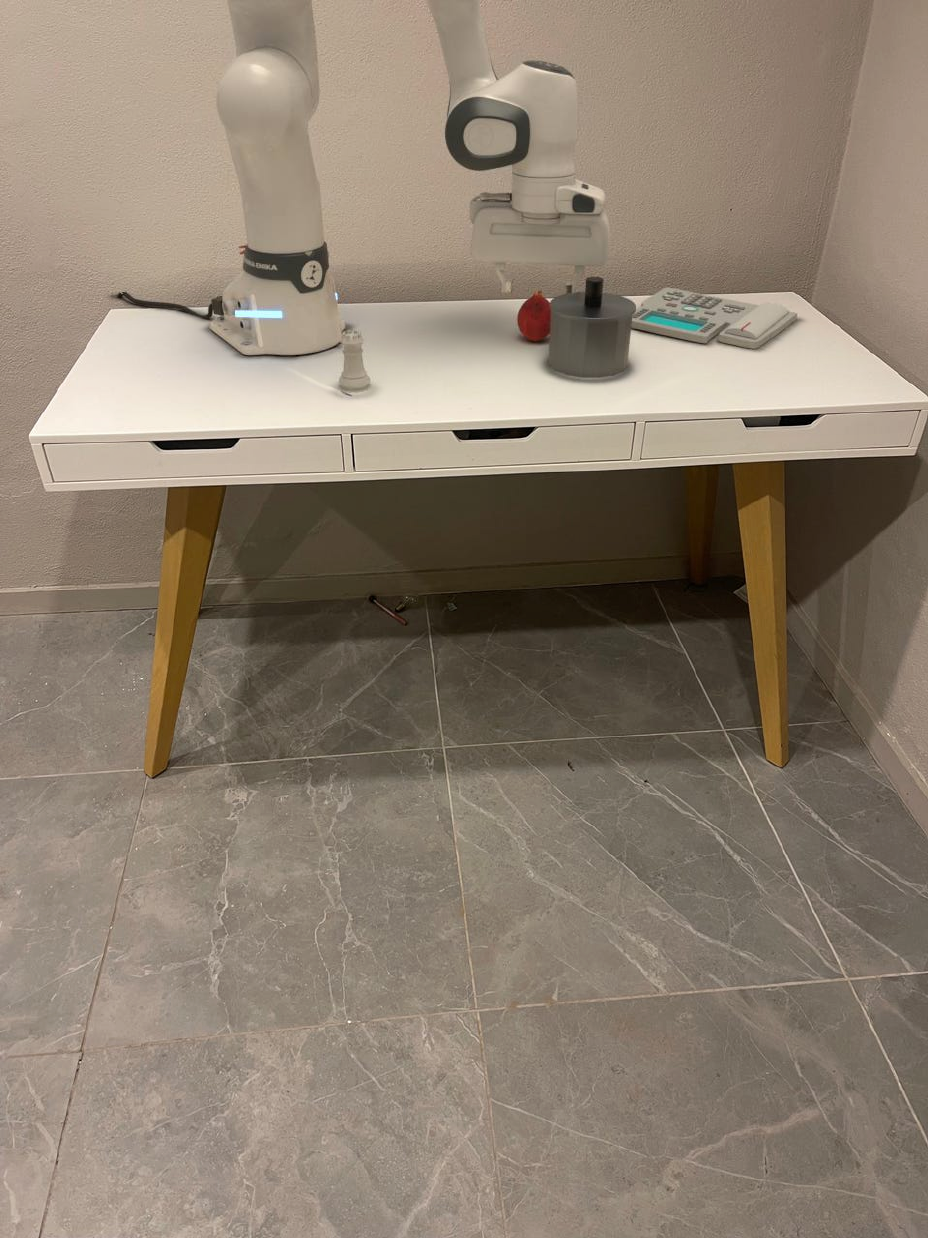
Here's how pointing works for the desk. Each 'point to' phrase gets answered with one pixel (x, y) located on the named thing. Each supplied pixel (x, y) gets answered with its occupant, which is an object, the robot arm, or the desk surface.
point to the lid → (593, 304)
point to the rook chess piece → (353, 364)
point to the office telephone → (711, 318)
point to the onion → (535, 317)
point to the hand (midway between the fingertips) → (538, 293)
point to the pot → (589, 346)
